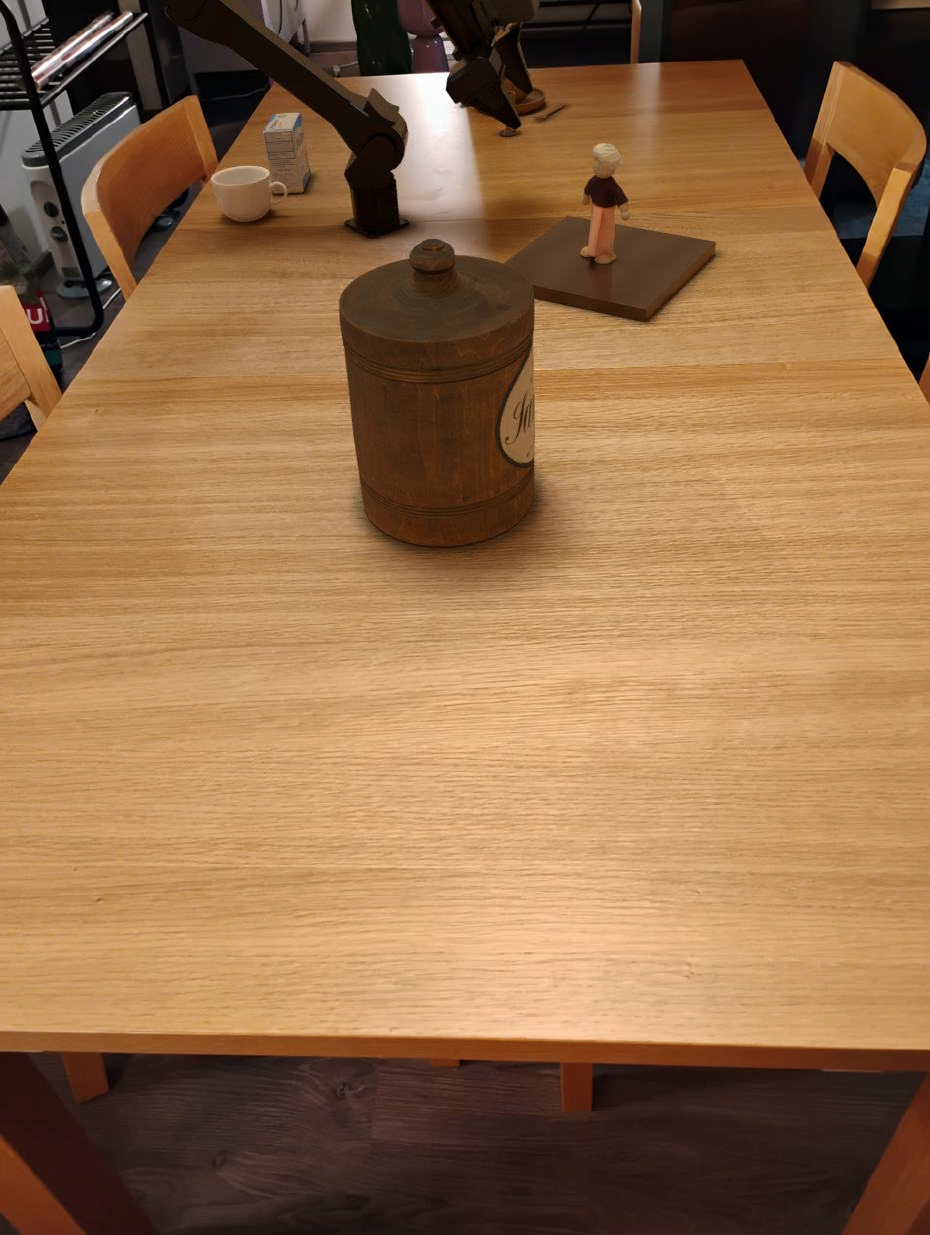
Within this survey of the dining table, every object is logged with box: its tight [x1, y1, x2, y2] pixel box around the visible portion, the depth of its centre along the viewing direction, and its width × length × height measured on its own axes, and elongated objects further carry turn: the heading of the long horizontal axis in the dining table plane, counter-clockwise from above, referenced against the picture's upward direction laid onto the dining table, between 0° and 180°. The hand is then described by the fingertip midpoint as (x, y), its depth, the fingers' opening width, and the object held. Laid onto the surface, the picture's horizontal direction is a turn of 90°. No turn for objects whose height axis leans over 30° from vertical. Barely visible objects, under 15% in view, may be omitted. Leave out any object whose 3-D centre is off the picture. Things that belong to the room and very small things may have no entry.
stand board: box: [502, 215, 717, 323], centre depth 117 cm, size 20×20×2 cm
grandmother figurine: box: [580, 142, 631, 264], centre depth 112 cm, size 8×4×13 cm, turn 47°
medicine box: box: [262, 112, 312, 195], centre depth 142 cm, size 8×4×9 cm, turn 179°
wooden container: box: [338, 238, 536, 547], centre depth 78 cm, size 15×15×22 cm
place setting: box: [498, 72, 566, 137], centre depth 163 cm, size 18×20×6 cm
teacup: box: [210, 165, 289, 223], centre depth 135 cm, size 10×8×5 cm
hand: (524, 109), depth 122 cm, fingers open, 9 cm apart
